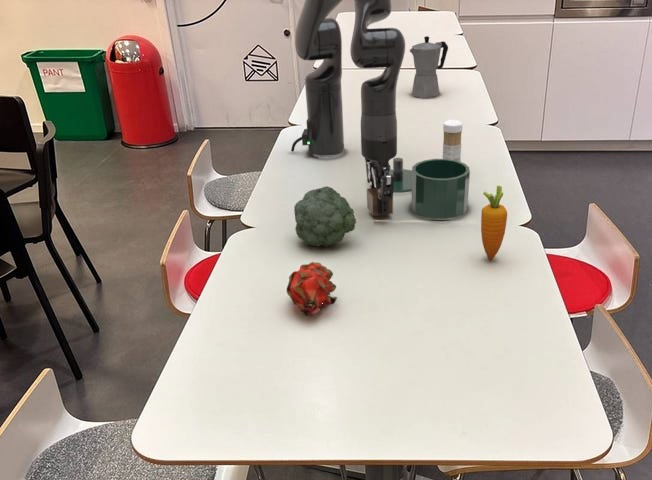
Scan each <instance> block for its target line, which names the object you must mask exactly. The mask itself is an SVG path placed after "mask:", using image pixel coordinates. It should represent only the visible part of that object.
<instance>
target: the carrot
mask: <svg viewBox="0 0 652 480" xmlns="http://www.w3.org/2000/svg"><path fill="white" fill-rule="evenodd" d="M482 195H484V197H486V199H487V200H488V201H489V203H488V204H487V205H484V207H482V209H481V216H480V233H481V241H482V245H483V250H484V253H485V254H486V257H487V259H488V260H489V261H492V260H493V259H494V258H495V257H496V256H497V254H498V252H499V251H500V249H501V247H502V243H503V240H504V237H505V233H506V227H507V223H508V222H507V221H508V210H507V208H506V207H505V206H504V205H503V204H500V202H501V200H502V199H503V196H504V192H503V187H502V186H501V185H497V186H496V194H495V195H494V194H493V193H488V192H486V191H484V192H483V194H482Z"/></svg>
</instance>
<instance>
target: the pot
mask: <svg viewBox="0 0 652 480" xmlns="http://www.w3.org/2000/svg"><path fill="white" fill-rule="evenodd" d="M411 170H412V191H411V210H412V211H413V212H414V213H415V214H416V215H418V216H421V217H422V218H428V219H431V221H432V222H447V221H448V222H449V219H453V218H457V217H460V216H462V215H464V214H465V213H466V212H467V211H468V208H469V207H468V206H469V193H470V192H469V189H470V173H471V170H470V167H469V166H468V165H467V164H466V163H465V162H463V161H460V162H459V161H456V160H450V159H443V158H431V159H425V160H421V161H419V162H416V163H414V165H412V167H411Z"/></svg>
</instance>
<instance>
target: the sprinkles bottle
mask: <svg viewBox="0 0 652 480" xmlns="http://www.w3.org/2000/svg"><path fill="white" fill-rule="evenodd" d="M442 130H443V143H442V159H450V160H456V161H459V162H461V157H462V133H463V132H462V131H463V122H462V121H460V120H459V119H458V120H457V119H449V120H448V119H447V120H445V121H444V122H443V125H442Z"/></svg>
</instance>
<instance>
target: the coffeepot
mask: <svg viewBox="0 0 652 480" xmlns="http://www.w3.org/2000/svg"><path fill="white" fill-rule="evenodd" d="M423 40H424V42H419V43H417V44H414V45H412V46H411V48H410V49H409V53H411V55H412V58H413V65H414V69H415V74H414V78H413V84H412V91H411V94H412V96H413V97H415V98H419V99H433V98H437V97H438V96H439V95H440V87H439V86H440V85H439V81H438V80H439V78H438V74H437V70H440V69H443V68H444V65H445V61H446V59H447V54H448V51H449V46H448V44H447V43H446V41H445V40H443V41H440V42H439V41H438V42H437V41H436V42H435V43H434V42H430V37H429V36H424V39H423ZM441 49H442V50H441ZM441 51H442V54H441ZM440 56H441V58H440ZM439 62H440V64H439Z"/></svg>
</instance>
